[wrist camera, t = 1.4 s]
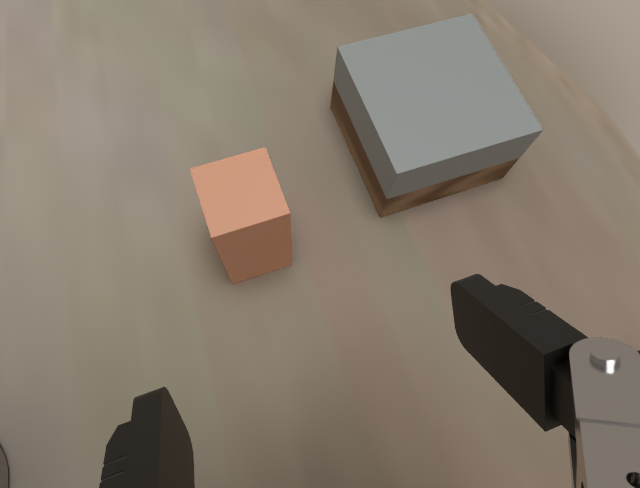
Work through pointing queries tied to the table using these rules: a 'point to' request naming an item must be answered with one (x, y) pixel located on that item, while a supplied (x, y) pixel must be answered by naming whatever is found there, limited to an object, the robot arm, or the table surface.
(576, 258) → the table surface
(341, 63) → the slate-grey slab
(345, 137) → the walnut slab
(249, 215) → the terracotta block
